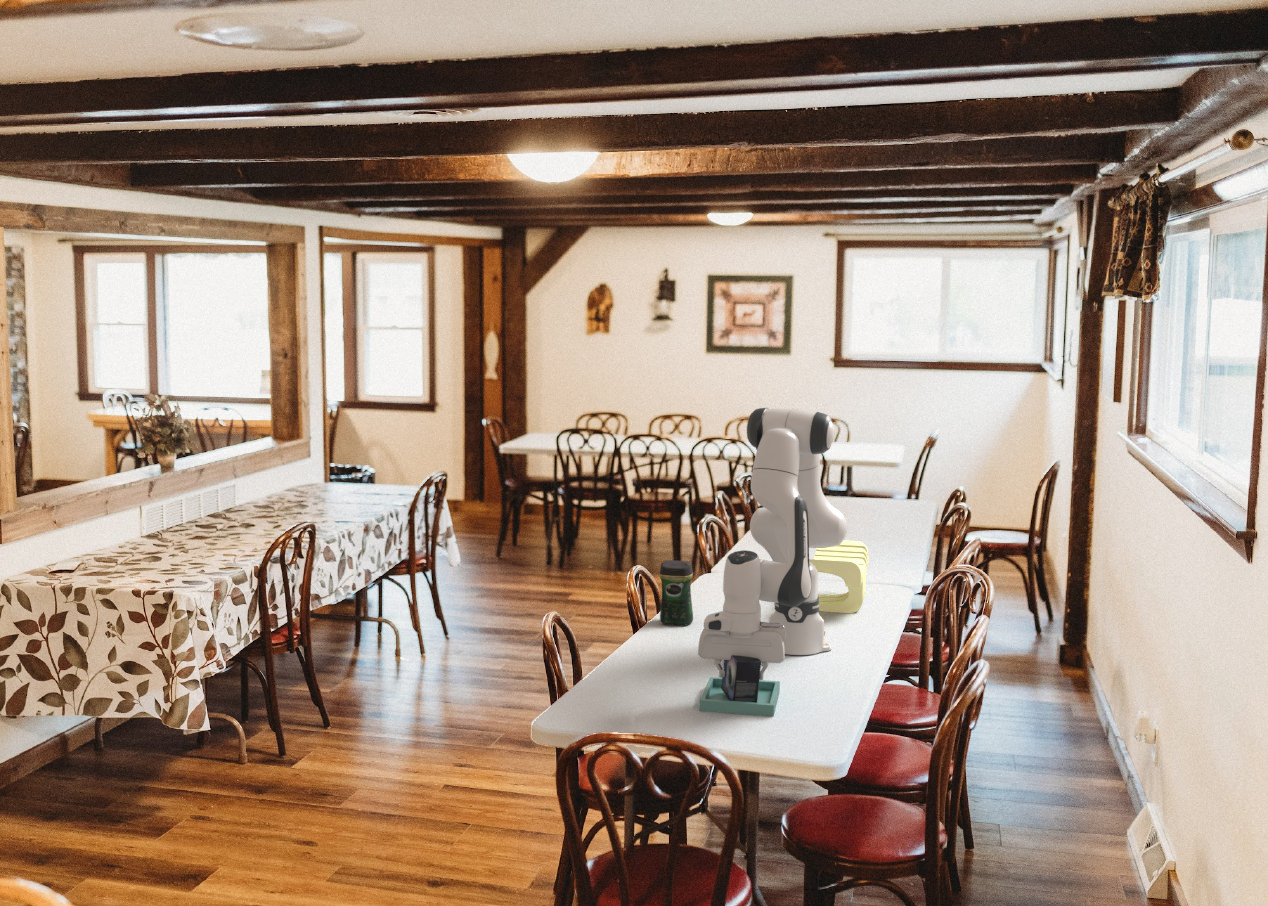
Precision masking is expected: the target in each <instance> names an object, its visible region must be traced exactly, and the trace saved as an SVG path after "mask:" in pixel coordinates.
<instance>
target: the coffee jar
mask: <svg viewBox="0 0 1268 906" xmlns="http://www.w3.org/2000/svg"><path fill="white" fill-rule="evenodd" d="M693 576H694V571H693V564H692V562H691V561H689V560H688V561H687V560H673V559H672V560H667V559H665V560H664V561H662V562H661V564H660V571H659V578H660V581H661V599H660V611H659V622H660V623H661V624H663V625H666V626H678V627H680V626H682V627H683V626H688V625H691V624H692V623H693V620H694V611H693V603H692V594H691V593H692V591H691V588H692V587H691V586H692V585H691V584H692V583H691V582H692V579H693Z"/></svg>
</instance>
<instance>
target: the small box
mask: <svg viewBox="0 0 1268 906" xmlns="http://www.w3.org/2000/svg"><path fill="white" fill-rule="evenodd" d="M761 667H762V662H761V661H760V660H759V659H758V658H753V657H746V656H736V655H732V656H731V659H730V660H723V665H722V668H724V669H726V673H725V675H726V676H725V678H722V677H721V678H722V685H721V689H722V690H723V692H724V693H725V694H726V696H727V697H728V698H729V700H730V701H740V702H754V703H757V700H758V688H759V677H760V671H761V669H762V668H761Z"/></svg>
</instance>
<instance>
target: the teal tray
mask: <svg viewBox="0 0 1268 906" xmlns="http://www.w3.org/2000/svg"><path fill="white" fill-rule="evenodd" d="M780 683H781V681H778V680H776V681H775V680H764V679H763V680H759V688H758V700H757V703H754V702H740V701H730V700H729V698H728V697H727V696H726V694H725V693H724V692H723V690H722V689H721V685H722V677H719V676H718V677H717V676H710V677H709V678H708V681H707V682H706V685H705V687H704V689H703V691H702V694H701V697H700V698H699V712H706V713H707V712H710V713H721V714H722V713H723V714H734V715H736V714H737V715H748V716H749V715H750V716H764V717H774V716H775V712H776V708H777V705H778V704H777V703H778V701H779V696H780V692H781V689H780V688H781V687H780V686H781V684H780Z"/></svg>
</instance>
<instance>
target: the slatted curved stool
mask: <svg viewBox="0 0 1268 906" xmlns="http://www.w3.org/2000/svg"><path fill="white" fill-rule="evenodd" d="M815 549H816V550H815V555H814V557H813V559H812V558H809V562H810V563H812V564H813V565H814V566H815V567H816V569H817V571H818V573H824V574H829V575H833V576H836V577H839V578H841V579H842V580H843V582H844V584H845V587H847V589H848V591H847V592H844V593H841V594H831V595H830V594H829V595H828V594H818V598H819V603H820V606H819V611H818V612H827V613H828V612H829V613H843V614H853V613H856V612H858V611H859V610H860V608H861V607H862V606H863V603H864V599H865V595H866V584H867V583H866V580H867V568H868V565H869V548H868V547H867V545H866V544H864V543H863V542H862V541H860V540H859V541H857V540H845V539H844V541H843V542H842V543H841V544H840V545H839V546H834V547H828V548H815Z"/></svg>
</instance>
